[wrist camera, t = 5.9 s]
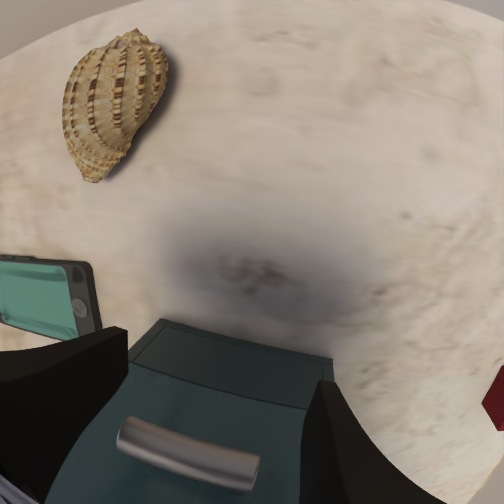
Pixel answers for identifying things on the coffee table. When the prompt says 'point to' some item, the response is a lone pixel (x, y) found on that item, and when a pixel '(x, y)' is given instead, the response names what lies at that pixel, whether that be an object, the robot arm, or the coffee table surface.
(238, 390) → the grey-green open box
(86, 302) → the smartphone
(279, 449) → the lid
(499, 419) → the block
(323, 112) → the coffee table surface
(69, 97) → the seashell
